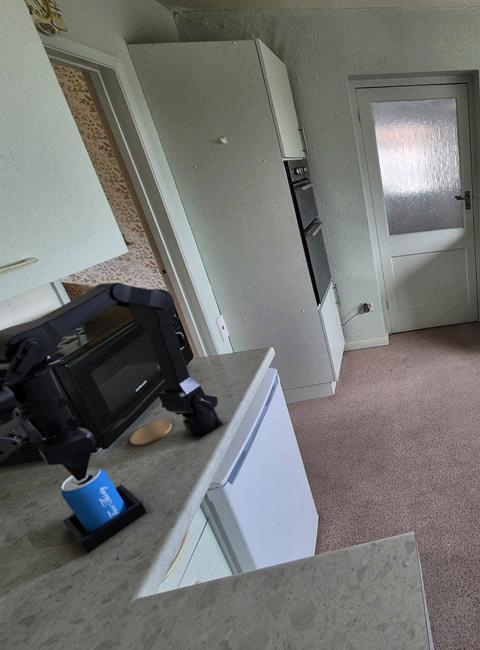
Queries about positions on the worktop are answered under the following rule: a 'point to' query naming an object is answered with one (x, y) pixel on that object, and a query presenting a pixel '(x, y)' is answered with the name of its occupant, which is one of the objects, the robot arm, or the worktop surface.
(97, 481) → the beverage can
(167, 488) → the worktop surface
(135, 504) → the black rectangular open frame
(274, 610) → the worktop surface
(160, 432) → the coaster
